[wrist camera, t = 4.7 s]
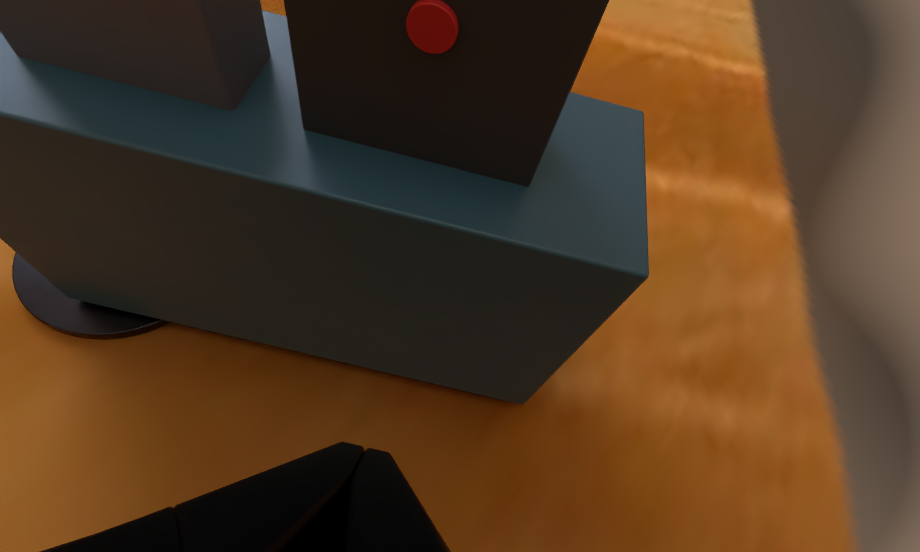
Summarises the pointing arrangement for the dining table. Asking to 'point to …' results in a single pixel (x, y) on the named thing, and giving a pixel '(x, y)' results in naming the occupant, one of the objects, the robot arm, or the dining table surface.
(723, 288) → the dining table surface
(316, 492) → the robot arm
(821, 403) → the dining table surface
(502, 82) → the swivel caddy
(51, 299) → the foot
